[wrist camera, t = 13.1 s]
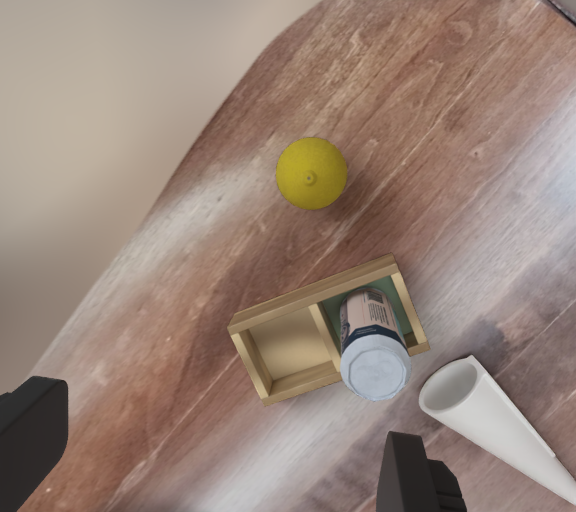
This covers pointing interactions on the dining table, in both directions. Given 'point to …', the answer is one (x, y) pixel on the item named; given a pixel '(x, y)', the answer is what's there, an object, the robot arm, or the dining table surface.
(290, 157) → the lemon
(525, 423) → the long cone
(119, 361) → the dining table surface
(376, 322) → the beer can
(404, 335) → the wooden divided tray
